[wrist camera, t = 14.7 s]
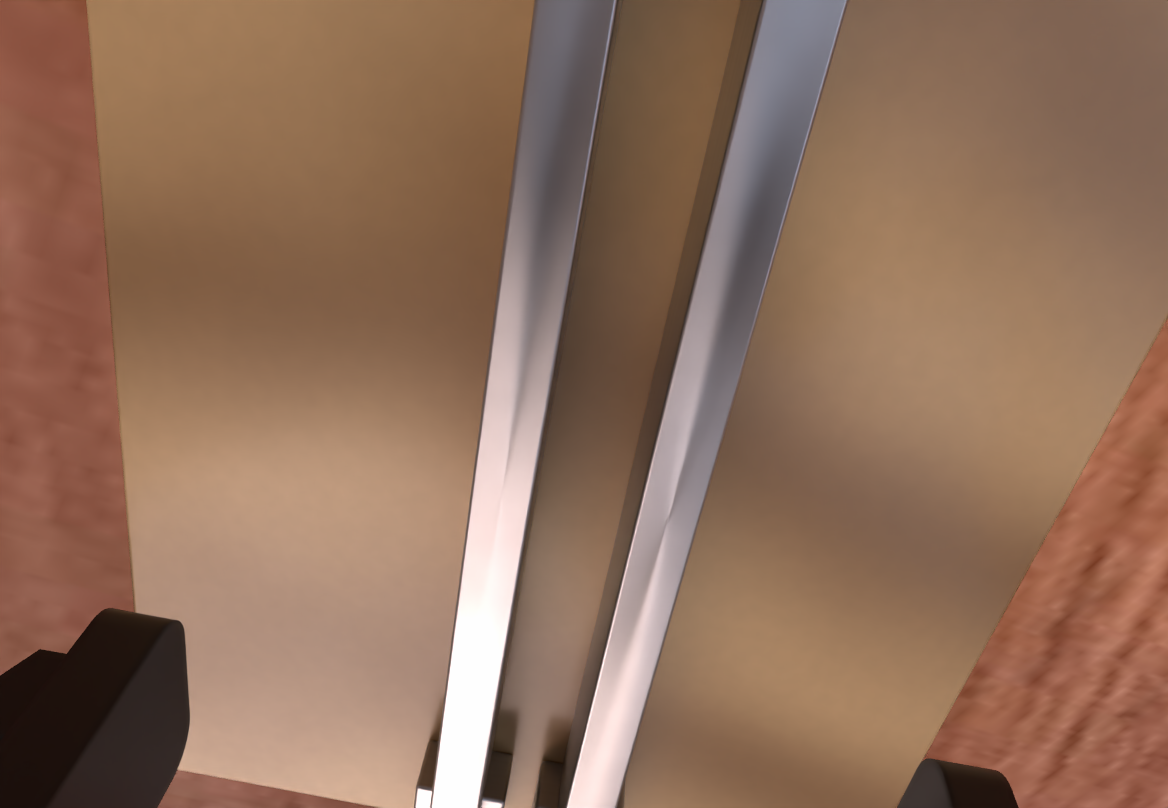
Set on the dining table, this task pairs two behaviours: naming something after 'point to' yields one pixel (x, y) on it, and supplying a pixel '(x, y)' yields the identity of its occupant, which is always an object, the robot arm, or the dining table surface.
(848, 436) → the cutting board
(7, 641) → the dining table surface
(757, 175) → the steel tongs
